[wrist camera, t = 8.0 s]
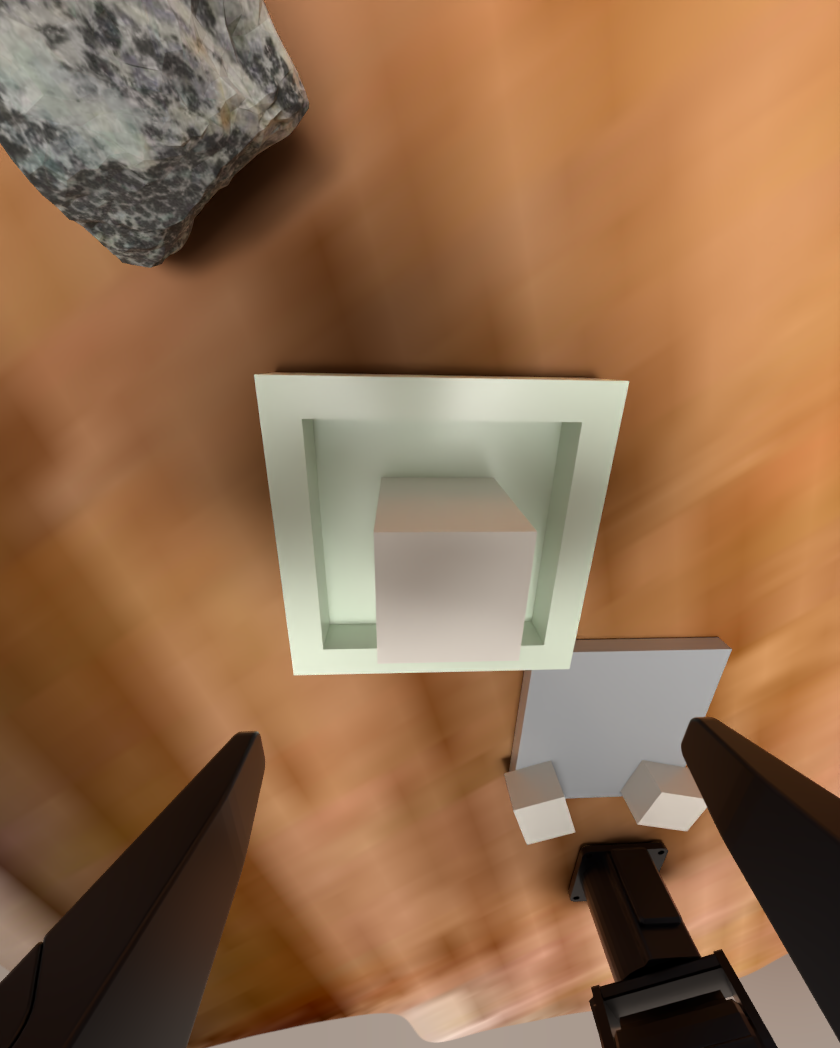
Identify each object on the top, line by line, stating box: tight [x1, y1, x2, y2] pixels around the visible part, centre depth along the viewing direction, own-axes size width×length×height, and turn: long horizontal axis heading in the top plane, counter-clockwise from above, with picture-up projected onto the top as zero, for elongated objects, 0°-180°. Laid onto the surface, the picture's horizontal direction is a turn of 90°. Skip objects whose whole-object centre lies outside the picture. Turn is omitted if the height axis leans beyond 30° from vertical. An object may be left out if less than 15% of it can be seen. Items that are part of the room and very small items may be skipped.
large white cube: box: [374, 477, 537, 664], centre depth 16 cm, size 5×5×6 cm
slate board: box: [504, 637, 732, 845], centre depth 23 cm, size 13×12×3 cm
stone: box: [0, 0, 309, 268], centre depth 10 cm, size 10×10×10 cm
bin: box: [254, 372, 629, 675], centre depth 18 cm, size 14×14×2 cm
